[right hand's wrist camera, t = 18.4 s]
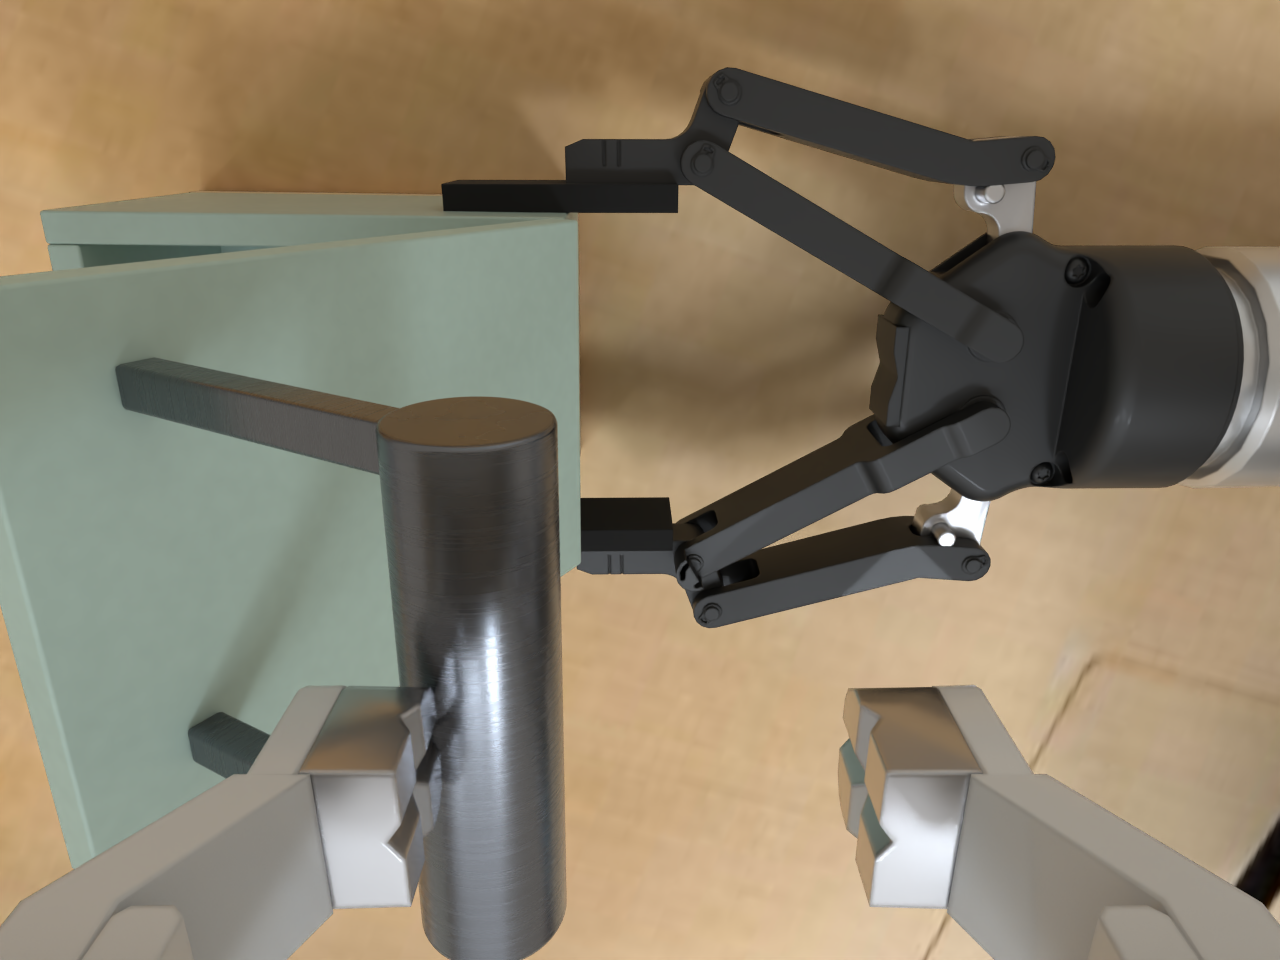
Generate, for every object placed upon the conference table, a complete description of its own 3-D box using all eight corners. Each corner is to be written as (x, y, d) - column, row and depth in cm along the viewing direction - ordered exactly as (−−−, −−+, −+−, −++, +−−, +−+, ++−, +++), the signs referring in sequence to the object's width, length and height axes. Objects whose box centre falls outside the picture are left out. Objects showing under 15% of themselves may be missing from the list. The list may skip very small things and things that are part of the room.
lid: (70, 868, 15) (453, 1135, 11) (-90, 285, 11) (384, 371, 8) (556, 556, 26) (828, 633, 22) (550, 218, 23) (869, 239, 19)
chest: (238, 448, 35) (112, 552, 26) (199, 190, 32) (37, 209, 23) (580, 450, 36) (570, 552, 27) (578, 196, 32) (565, 217, 23)
